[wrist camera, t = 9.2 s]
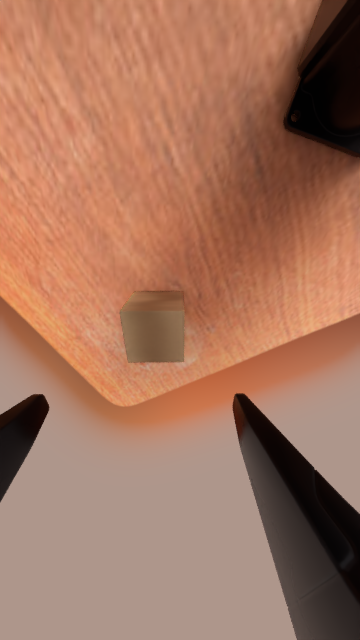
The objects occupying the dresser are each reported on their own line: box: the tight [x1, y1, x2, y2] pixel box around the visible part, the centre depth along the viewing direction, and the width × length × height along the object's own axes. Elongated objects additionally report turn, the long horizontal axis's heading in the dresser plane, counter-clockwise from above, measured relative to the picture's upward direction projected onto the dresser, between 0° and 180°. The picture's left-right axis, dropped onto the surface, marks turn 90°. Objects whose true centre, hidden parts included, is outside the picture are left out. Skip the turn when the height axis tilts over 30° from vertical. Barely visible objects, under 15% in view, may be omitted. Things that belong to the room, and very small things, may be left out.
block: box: [120, 291, 184, 362], centre depth 15 cm, size 4×4×4 cm
